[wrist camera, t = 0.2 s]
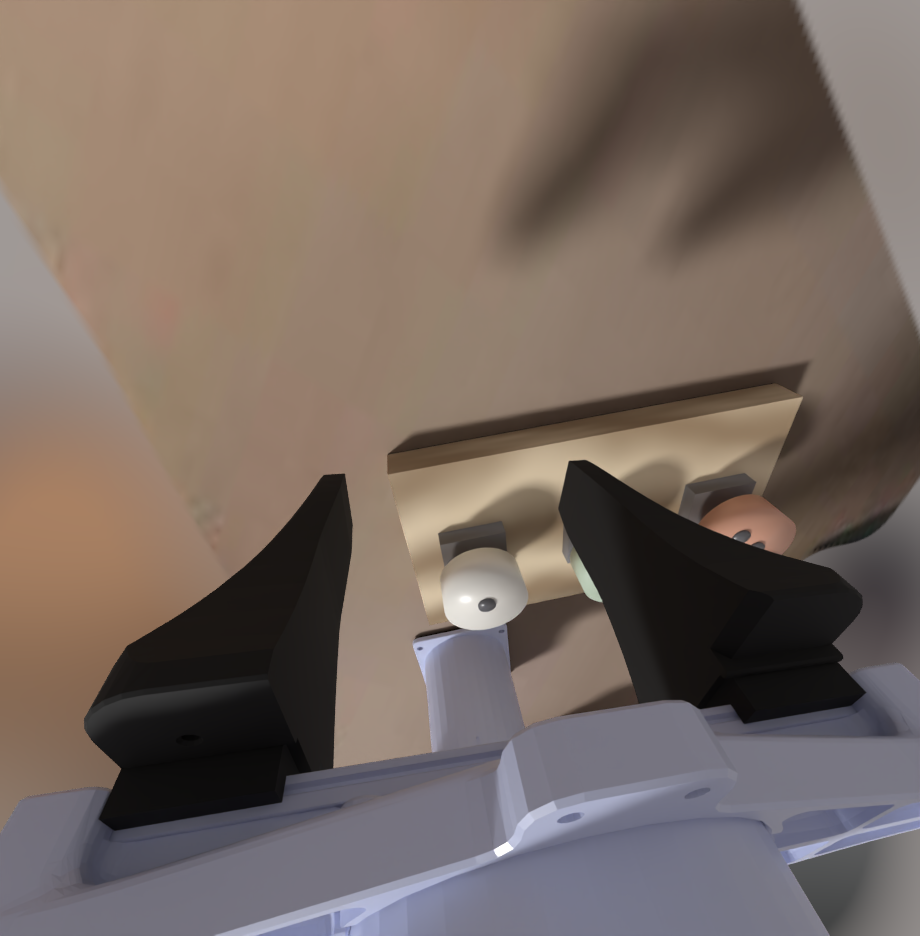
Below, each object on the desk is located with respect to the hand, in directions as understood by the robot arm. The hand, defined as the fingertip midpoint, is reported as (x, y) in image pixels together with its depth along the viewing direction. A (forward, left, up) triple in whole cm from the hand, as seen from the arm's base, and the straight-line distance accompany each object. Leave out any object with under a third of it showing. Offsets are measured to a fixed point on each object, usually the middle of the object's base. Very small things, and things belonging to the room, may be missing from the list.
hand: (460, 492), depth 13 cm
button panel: (-11, -9, -10) cm, 17 cm away
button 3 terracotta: (-11, -17, -6) cm, 21 cm away
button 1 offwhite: (-11, -1, -6) cm, 13 cm away
